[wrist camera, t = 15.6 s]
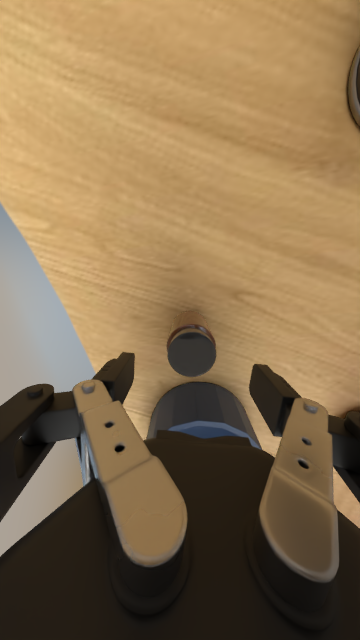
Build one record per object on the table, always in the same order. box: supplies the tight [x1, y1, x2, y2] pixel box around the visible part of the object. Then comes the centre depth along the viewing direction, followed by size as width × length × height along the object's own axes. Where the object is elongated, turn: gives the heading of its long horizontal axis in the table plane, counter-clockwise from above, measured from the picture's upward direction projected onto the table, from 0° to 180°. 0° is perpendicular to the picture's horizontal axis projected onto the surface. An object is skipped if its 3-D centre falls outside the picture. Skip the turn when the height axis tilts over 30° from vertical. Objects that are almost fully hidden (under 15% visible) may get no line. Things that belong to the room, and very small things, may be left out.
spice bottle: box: [167, 311, 216, 377], centre depth 18 cm, size 4×4×8 cm
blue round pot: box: [146, 382, 262, 450], centre depth 22 cm, size 12×12×6 cm
